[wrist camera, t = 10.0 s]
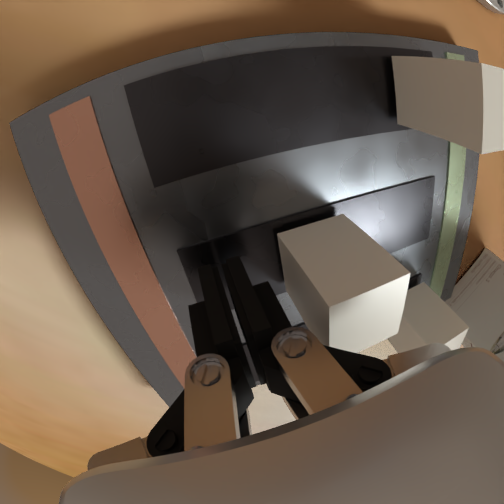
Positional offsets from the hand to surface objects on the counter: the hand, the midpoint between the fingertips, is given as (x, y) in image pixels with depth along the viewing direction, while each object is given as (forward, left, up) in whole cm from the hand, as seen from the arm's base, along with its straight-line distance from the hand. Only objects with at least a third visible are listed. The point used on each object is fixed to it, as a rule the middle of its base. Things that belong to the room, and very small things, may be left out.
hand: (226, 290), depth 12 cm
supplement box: (+12, +21, -3) cm, 24 cm away
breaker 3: (+7, +10, -1) cm, 12 cm away
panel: (0, +5, -3) cm, 6 cm away
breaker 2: (-6, +10, -1) cm, 12 cm away
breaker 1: (0, +4, -1) cm, 4 cm away
